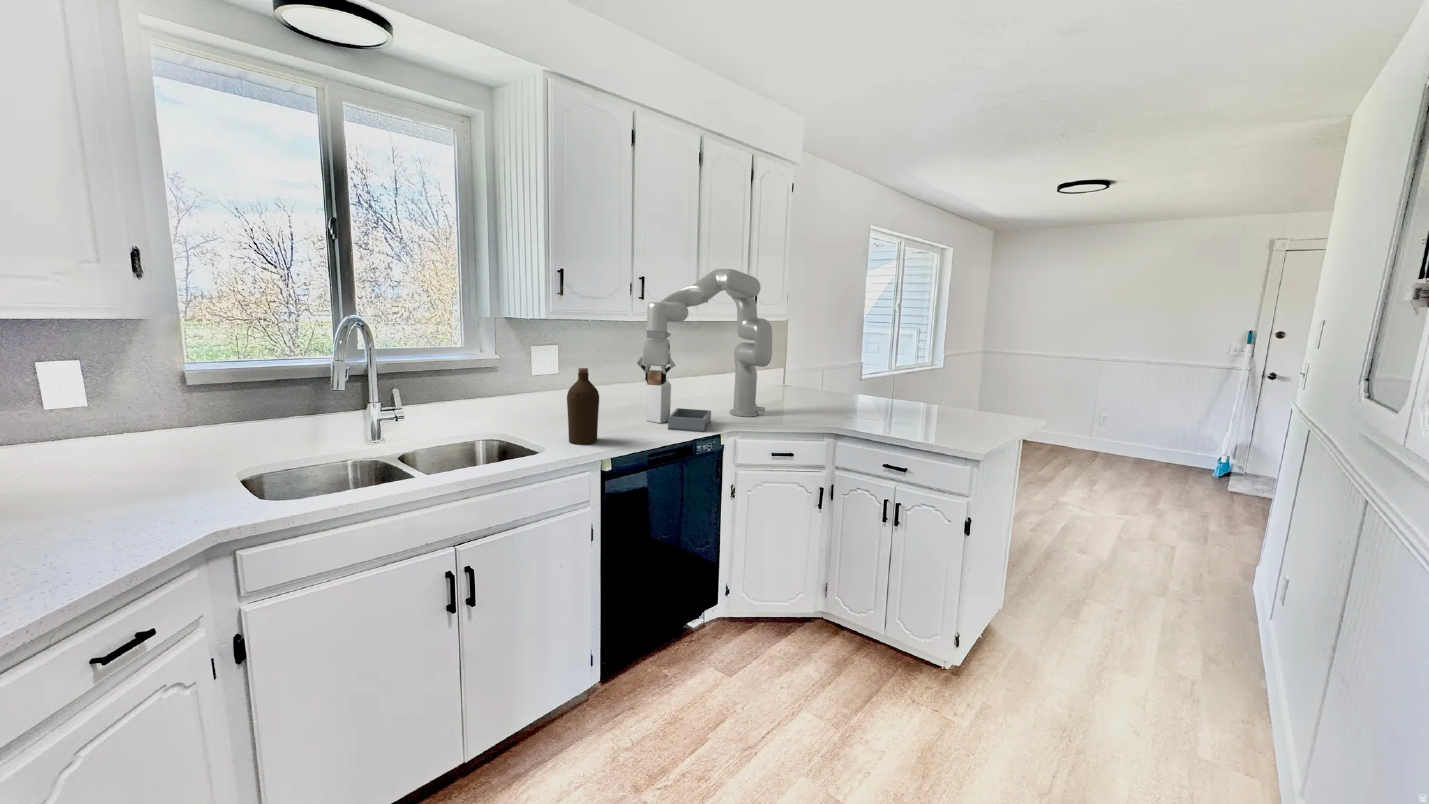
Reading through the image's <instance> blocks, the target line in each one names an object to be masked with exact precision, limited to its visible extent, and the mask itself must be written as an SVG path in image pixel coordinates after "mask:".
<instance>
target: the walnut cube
mask: <svg viewBox="0 0 1429 804" xmlns="http://www.w3.org/2000/svg"><path fill="white" fill-rule="evenodd" d="M661 374H662V370H659V369H658V370H656V369H655V370H654V369H651V370H649V371H648V383H647V384H648V385H658V386H661V385H662V384H661Z"/></svg>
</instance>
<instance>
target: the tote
mask: <svg viewBox="0 0 1429 804" xmlns="http://www.w3.org/2000/svg"><path fill="white" fill-rule="evenodd" d="M711 418H712V410H709V409H695V408H679V407H677V408H675V409H674V411H673V412H671V413H670V416H669V417H668V421H667V430H668V431H678V432H680V431H681V432H694V433H705V432H706V431H707V429H708V427H709V426H710V424H711V421H712V419H711Z"/></svg>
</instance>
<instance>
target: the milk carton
mask: <svg viewBox="0 0 1429 804" xmlns="http://www.w3.org/2000/svg"><path fill="white" fill-rule="evenodd" d="M671 396H672V384H671V383H670V381H669V380H668V379H667V378H666V382H665V383H664V384H662V385H661V386H658V385H648V383H646V397H645V398H646V400H645V401H646V402H645V405H646V406H645V408H646V409H645V412H646V413H645V421H646V422H650V423H658V424H662V423H663V424H664V423H666V422H668V417H669V416H670V415H671V401H672V400H671V399H672V398H671Z"/></svg>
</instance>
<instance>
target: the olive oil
mask: <svg viewBox="0 0 1429 804" xmlns="http://www.w3.org/2000/svg"><path fill="white" fill-rule="evenodd" d="M577 377H578V378H577V380H576V381H575V382H574V383H573V385H571V387H570V388H569V389H568V391H567V394H566V404H567V405H566V407H567V421H568V422H567V424H568V442H569V443H570V444H573V445H578V444H581V445H583V446H585V445H592V444H596V443H597V442H598V427H599V426H598V425H599V410H600V395H599V394H600V393H599V390H598V389H597V388H596V387H595V385H594V384H593V383H592V382H591V381H590V380H589V368H588V367H579V368H578V372H577ZM595 442H596V443H595ZM584 444H585V445H584Z"/></svg>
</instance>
